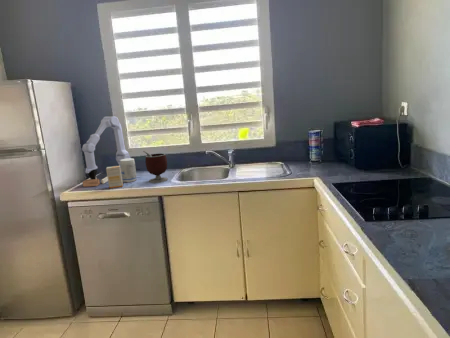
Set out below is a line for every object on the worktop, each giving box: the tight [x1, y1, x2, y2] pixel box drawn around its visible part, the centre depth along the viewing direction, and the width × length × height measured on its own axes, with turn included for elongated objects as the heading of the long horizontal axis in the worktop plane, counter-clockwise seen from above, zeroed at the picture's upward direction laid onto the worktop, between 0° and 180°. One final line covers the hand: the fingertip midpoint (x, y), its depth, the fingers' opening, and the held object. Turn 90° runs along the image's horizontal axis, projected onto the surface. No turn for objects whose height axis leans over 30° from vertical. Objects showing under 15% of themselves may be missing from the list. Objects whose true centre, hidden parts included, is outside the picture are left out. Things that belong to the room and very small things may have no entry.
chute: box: [86, 176, 108, 185], centre depth 246 cm, size 16×13×2 cm
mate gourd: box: [142, 150, 169, 184], centre depth 233 cm, size 16×14×20 cm
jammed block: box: [82, 178, 101, 188], centre depth 234 cm, size 5×9×4 cm, turn 87°
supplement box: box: [105, 165, 124, 189], centre depth 225 cm, size 8×5×13 cm, turn 98°
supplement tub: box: [120, 157, 138, 183], centre depth 239 cm, size 10×10×15 cm
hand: (93, 181), depth 237 cm, fingers closed
